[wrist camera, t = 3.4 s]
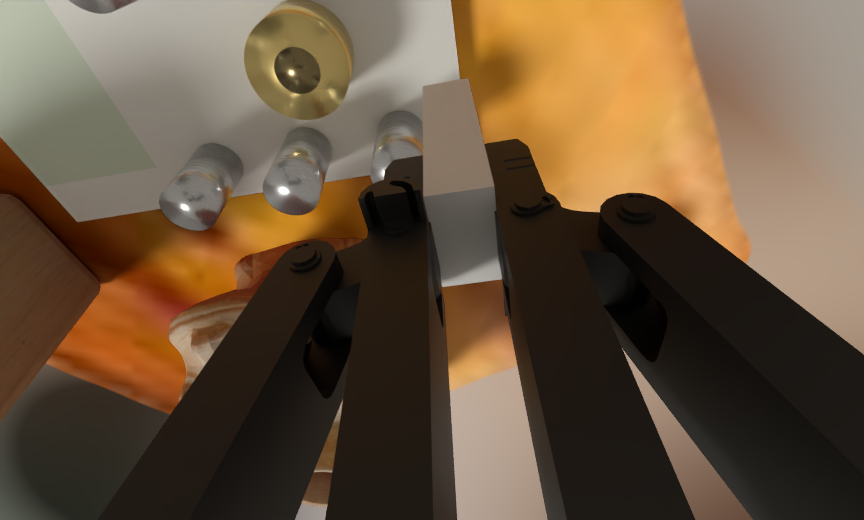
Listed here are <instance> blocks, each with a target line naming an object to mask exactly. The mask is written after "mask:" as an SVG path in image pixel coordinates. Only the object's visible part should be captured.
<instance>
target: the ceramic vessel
mask: <svg viewBox="0 0 864 520" xmlns="http://www.w3.org/2000/svg"><path fill="white" fill-rule="evenodd" d="M315 240H320V241H326V242H328V243H330V244H331V245H333V246H334V248H335V251H336V252H337V251H339V250H342V249H345V248H347V247H350V246H353V245H355V244H357V243H359V242H361V241H363V240H362V239H357V238H328V239H313V240H306V241H300V242H295V243H290V244H286V245H282V246H279V247H276V248H272V249H269V250H266V251H263V252H260V253H256V254H252V255H249V256H246V257H244V258H242V259H241V260H240V261H239V262H238V263H237V265H236V267H235V277H236V281H237V290H233V291H230V292H227V293H224V294H221V295H218V296H215V297H212V298H210V299H207V300H205V301H202V302H200V303H197V304H195V305H193V306H192V307H190V308H188V309H187V310H185V311H184V312H182V313H180V314H179V315H177V316H176V317H174V318H173V319H171V322H170V327H169V332H168V338H169V340H170V342H171V343H172V344H173V345H174V346H175V347H176V348H177V350H178V351H179V352H180V353H181V355H182V357H183V359H184V363H185V367H186V380H185V383H184V385H183V388H182V391H181V393H180V396H179V402H180V400H181V399H182V397H183V396H184V395H185V393H186V392H187V390H188V389H189V387H190V386H191V384H192V383H193V382H194V380H195V379H196V377H197V376H198V374H199V373H200V371H201V370H202V369H203V367H204V366H205V364H206V363H207V361H208V360H209V359H210V357H211V356H212V354H213V353H214V351H215V350H216V348H217V347H218V346H219V344H220V343H221V341H222V340H223V338H224V337H225V336H226V334H227V333H228V331H229V330H230V328H231V327H232V325H233V324H234V323H235V321H236V320H237V318H238V317H239V315H240V314H241V313H242V311H243V310H244V308H245V307H246V305H247V304H248V302H249V301H250V300H251V298H252V297H253V295H254V294H255V292H256V291H257V289H258V288H259V287H260V285H261V284H262V282H263V281H264V279H265V278H266V277H267V275H268V274H269V272H270V271H271V269H272V268H273V266H274V265H275V264H276V262H277V261H278V259H279V258H280V257H281V256H282V255H283V254H284V253H285V252H286V251H288V250H289V249H291V248H292V247H294V246H296V245H298V244H301V243H304V242H307V241H315ZM342 404H343V400H342V402H341V405H340V407H339V410H338V412H337V415H336V417H335V420H334V422H333V425H332V427H331V430H330V432H329V435H328V438H327V440H326V443H325V445H324V448H323V450H322V453H321V455H320V458H319V460H318V463H317V465H316V468H315V470H314V473H313V475H312V478H311V480H310V483H309V485H308V488H307V490H306V493H305V495H304V498H303V500H302V503H303V504H307V505H311V506H317V507H327V505H328V498H329V491H330V484H331V478H332V471H333V464H334V458H335V451H336V444H337V437H338V431H339V424H340V417H341V410H342Z"/></svg>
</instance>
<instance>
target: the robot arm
mask: <svg viewBox="0 0 864 520" xmlns="http://www.w3.org/2000/svg"><path fill="white" fill-rule="evenodd" d="M358 201H359V204H360V207H361V210H362V213H363V216H364V219H365V222H366V225H367V228H368V235H367V238H366V239H364V240H363V241H361V242H359V243H357V244H355V245H353V246H350V247H347V248H345V249H342V250H339V251H337V252H336V251H335V248H334V246H333V245H331V244H330V243H328V242H326V241H320V240H315V241H307V242H304V243H301V244H298V245H296V246H294V247H292V248H291V249H289V250H288V251H286V252H285V253H284V254H283V255H282V256H281V257H280V258H279V259H278V261H277V262H276V264H275V265H274V266H273V268H272V269H271V271H270V272H269V274H268V275H267V277H266V278H265V279H264V281H263V282H262V284H261V285H260V287H259V288H258V289H257V291H256V292H255V294H254V295H253V297H252V298H251V300H250V301H249V302H248V304H247V305H246V307H245V308H244V310H243V311H242V313H241V314H240V315H239V317H238V318H237V320H236V321H235V323H234V324H233V325H232V327H231V328H230V330H229V331H228V333H227V334H226V336H225V337H224V338H223V340H222V341H221V343H220V344H219V346H218V347H217V348H216V350H215V351H214V353H213V354H212V356H211V357H210V359H209V360H208V361H207V363H206V364H205V366H204V367H203V369H202V370H201V371H200V373H199V374H198V376H197V377H196V379H195V380H194V382H193V383H192V384H191V386H190V387H189V389H188V390H187V392H186V393H185V395H184V396H183V397H182V399H181V400H180V402H179V403H178V405H177V406H176V407H175V409H174V410H173V412H172V413H171V415H170V416H169V418H168V419H167V420H166V422H165V423H164V425H163V426H162V428H161V429H160V430H159V432H158V434H157V435H156V437H155V438H154V439H153V441H152V442H151V443H150V445H149V446H148V448H147V449H146V451H145V452H144V454H143V455H142V456H141V458H140V459H139V461H138V462H137V464H136V465H135V466H134V468H133V469H132V471H131V472H130V474H129V475H128V477H127V478H126V479H125V481H124V482H123V484H122V485H121V487H120V488H119V490H118V491H117V492H116V494H115V495H114V497H113V498H112V500H111V501H110V502H109V504H108V505H107V507H106V508H105V510H104V511H103V513H102V514H101V515H100V517H99V518H98V520H295V518H296V515H297V513H298V510H299V508H300V505H301V503H302V500H303V498H304V495H305V493H306V490H307V488H308V485H309V483H310V480H311V478H312V475H313V473H314V470H315V468H316V465H317V463H318V460H319V458H320V455H321V453H322V450H323V448H324V445H325V443H326V440H327V438H328V435H329V432H330V430H331V427H332V425H333V422H334V420H335V417H336V415H337V412H338V410H339V407H340V405H341V402H342V400H343V404H342V410H341V417H340V424H339V431H338V437H337V444H336V451H335V458H334V464H333V471H332V478H331V484H330V491H329V498H328V505H327V511H326V518H325V520H457V511H456V510H457V509H456V493H455V476H454V458H453V442H452V424H451V407H450V390H449V373H448V356H447V339H446V322H445V305H444V299H443V294H442V289H441V283H442V287H447V286H454V285H462V284H470V283H477V282H485V281H493V280H500V279H502V280H503V293H504V305H505V316H508V319H509V325H510V330H511V335H512V340H513V345H514V350H515V355H516V360H517V365H518V370H519V375H520V380H521V386H522V391H523V396H524V401H525V406H526V410H527V416H528V421H529V426H530V431H531V436H532V442H533V447H534V451H535V457H536V461H537V467H538V472H539V477H540V482H541V487H542V493H543V498H544V503H545V508H546V513H547V518H548V520H695V518H694V516H693V513H692V511H691V509H690V506H689V504H688V502H687V499H686V497H685V494H684V492H683V490H682V487H681V485H680V483H679V481H678V478H677V476H676V474H675V471H674V469H673V466H672V464H671V462H670V459H669V457H668V455H667V453H666V450H665V448H664V446H663V443H662V441H661V439H660V436H659V434H658V431H657V429H656V427H655V424H654V422H653V420H652V418H651V415H650V413H649V410H648V408H647V406H646V404H645V401H644V399H643V396H642V394H641V392H640V389H639V387H638V385H637V382H636V380H635V378H634V375H633V373H632V371H631V369H630V366H629V364H628V361H627V359H626V357H625V354H624V352H623V350H624V351H625V352H626V354H627V355H628V356H629V358H630V359H631V360H632V362H633V363H634V364H635V365H636V367H637V368H638V369H639V371H640V372H641V373H642V375H643V376H644V377H645V379H646V380H647V381H648V382H649V384H650V385H651V386H652V388H653V389H654V390H655V392H656V393H657V394H658V396H659V397H660V398H661V400H662V401H663V402H664V403H665V405H666V406H667V407H668V409H669V410H670V411H671V413H672V414H673V415H674V417H675V418H676V419H677V420H678V422H679V423H680V424H681V426H682V427H683V428H684V430H685V431H686V432H687V433H688V435H689V436H690V437H691V439H692V440H693V441H694V443H695V444H696V445H697V447H698V448H699V449H700V451H701V452H702V453H703V455H704V456H705V457H706V458H707V460H708V461H709V462H710V464H711V465H712V466H713V467H714V469H715V470H716V471H717V473H718V474H719V475H720V477H721V478H722V479H723V481H724V482H725V483H726V485H727V486H728V487H729V489H730V490H731V491H732V492H733V494H734V495H735V496H736V498H737V499H738V500H739V502H740V503H741V504H742V505H743V507H744V508H745V509H746V511H747V512H748V513H749V515H750V516H751V517H752V519H753V520H864V355H863V354H862V353H861V352H859V351H858V350H857V349H856V348H854V347H853V346H852V345H850V344H849V343H848V342H847V341H845V340H844V339H843V338H841V337H840V336H839V335H837V334H836V333H835V332H834V331H832V330H831V329H830V328H828V327H827V326H826V325H824V324H823V323H822V322H821V321H819V320H818V319H817V318H815V317H814V316H813V315H811V314H810V313H809V312H808V311H806V310H805V309H804V308H802V307H801V306H800V305H799V304H797V303H796V302H794V301H793V300H792V299H791V298H789V297H788V296H787V295H785V294H784V293H783V292H781V291H780V290H779V289H778V288H776V287H775V286H774V285H773V284H771V283H770V282H769V281H767V280H766V279H765V278H763V277H762V276H761V275H759V274H758V273H757V272H756V271H754V270H753V269H752V268H750V267H749V266H748V265H747V264H745V263H744V262H743V261H741V260H740V259H739V258H737V257H736V256H735V255H734V254H732V253H731V252H730V251H728V250H727V249H726V248H724V247H723V246H722V245H721V244H719V243H718V242H717V241H715V240H714V239H713V238H712V237H710V236H709V235H708V234H706V233H705V232H704V231H702V230H701V229H700V228H699V227H697V226H696V225H695V224H693V223H692V222H691V221H689V220H688V219H687V218H686V217H684V216H683V215H682V214H680V213H679V212H678V211H676V210H675V209H674V208H673V207H671V206H670V205H669V204H667V203H666V202H664V201H662V200H660V199H659V198H657V197H654V196H650V195H646V194H642V193H626V194H620V195H615V196H613V197H611V198H609V199H607V200H606V201H605V202H604V203H603V204H602V205H601V209H600V213H599V212H582V211H574V210H569V209H566V208H563V207H561V205H560V202H559V201H558V200H557V199H556V197H555V196H554V195H552V194H550V193H548V192H546V190H545V187H544V185H543V182H542V180H541V178H540V175H539V173H538V170H537V168H536V166H535V163H534V160H533V158H532V155H531V153H530V150H529V148H528V146H527V145H525V144H524V143H522V142H521V141H519V140H518V139H512V140H506V141H499V142H493V143H487V144H484V141H483V137H482V133H481V129H480V125H479V120H478V116H477V112H476V108H475V104H474V100H473V96H472V91H471V87H470V83H469V79H468V78H466V79H460V80H454V81H449V82H443V83H437V84H432V85H426V86H423V155H421V156H415V157H408V158H402V159H396V160H393V161H392V162H391V163H390V164H389V166H388V167H387V168H386V169H385V173H384V180H381V181H378V182H376V183H374V184H372V185H370V186H368V187H367V188H366V189H365V190H364V191H363V192H361V194H360V196H359V198H358ZM622 348H623V350H622Z"/></svg>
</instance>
